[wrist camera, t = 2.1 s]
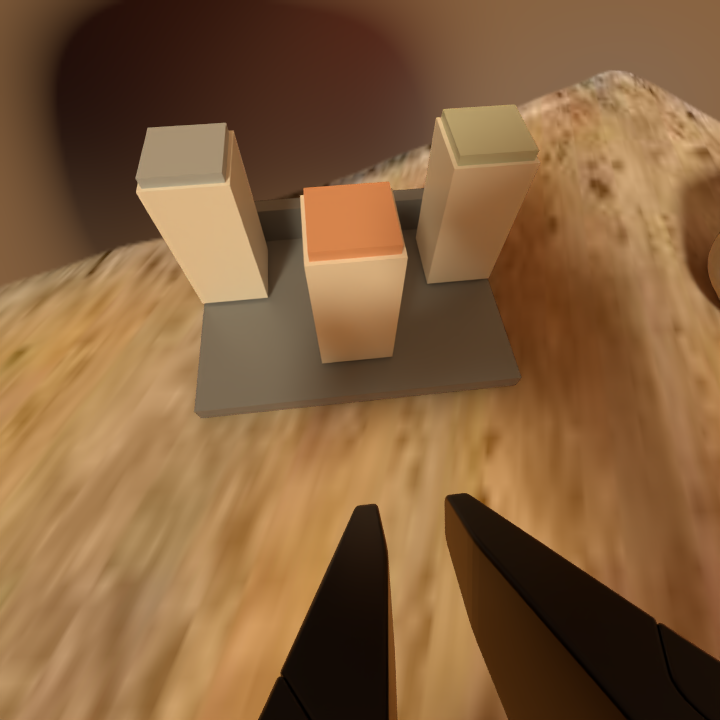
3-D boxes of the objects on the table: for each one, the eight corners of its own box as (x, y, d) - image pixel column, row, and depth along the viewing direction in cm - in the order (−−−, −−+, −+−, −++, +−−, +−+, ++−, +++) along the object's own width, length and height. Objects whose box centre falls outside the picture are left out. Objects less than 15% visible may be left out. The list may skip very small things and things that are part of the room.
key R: (392, 356, 22) (409, 248, 14) (322, 363, 22) (302, 257, 14) (382, 300, 24) (393, 178, 16) (317, 305, 24) (298, 185, 16)
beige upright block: (488, 278, 25) (544, 152, 17) (427, 283, 24) (456, 159, 17) (473, 233, 27) (517, 101, 19) (415, 237, 26) (438, 107, 19)
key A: (268, 297, 24) (226, 175, 16) (202, 303, 24) (129, 181, 16) (268, 249, 26) (230, 119, 18) (207, 254, 26) (144, 125, 18)
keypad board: (515, 385, 22) (540, 356, 19) (201, 417, 21) (174, 393, 18) (462, 225, 29) (474, 184, 25) (215, 245, 28) (197, 205, 24)
